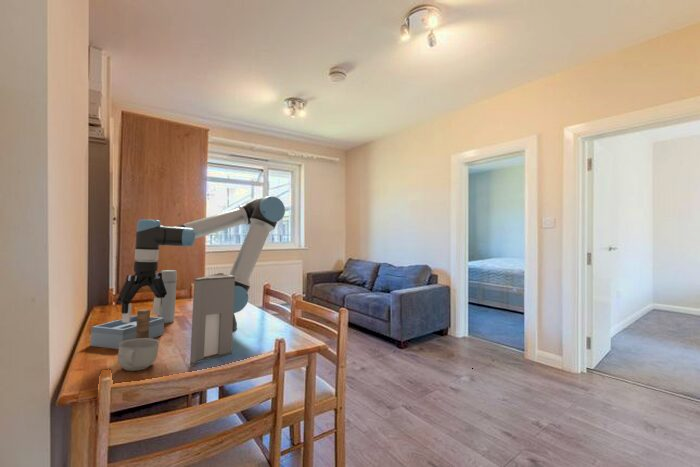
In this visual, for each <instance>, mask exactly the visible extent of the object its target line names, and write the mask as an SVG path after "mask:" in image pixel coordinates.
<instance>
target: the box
mask: <svg viewBox="0 0 700 467" xmlns="http://www.w3.org/2000/svg"><path fill="white" fill-rule="evenodd" d="M136 327H137V314H136V315H133V316H132V315H131V320H130V323H123V322H122V318H120V319H118V320H113V321H109V322H106V323H105V322H104V323H101V324H97V325H93V326H91V327H90V341H89V343H90V347H98V348H99V347H100V348H107V349H108V348H109V349H116V350H119V343H121V342H123V341H126V340H131V339H136ZM164 329H165V323H164V318H160V317H158V316H150V323H149V338H150V339H156V338H157V337H159V336H163V335H164V332H165V330H164Z"/></svg>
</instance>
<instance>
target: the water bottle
mask: <svg viewBox="0 0 700 467" xmlns="http://www.w3.org/2000/svg"><path fill="white" fill-rule="evenodd" d="M160 273H162V280H163V283H164V286H165V289H166V292H167V295H165V297H164V298H162V305H161V310H160V315H157V317H160V318H164V324H171V323H173V322H174V321H175V315H176V293H177V282H178V280H177V279H178V276H177V274H178V273H177V270H176V269H175V270H173V269H166V270H165V269H164V270H161V271H160ZM162 292H163V291H162Z"/></svg>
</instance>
